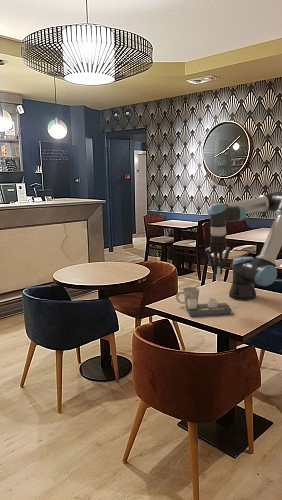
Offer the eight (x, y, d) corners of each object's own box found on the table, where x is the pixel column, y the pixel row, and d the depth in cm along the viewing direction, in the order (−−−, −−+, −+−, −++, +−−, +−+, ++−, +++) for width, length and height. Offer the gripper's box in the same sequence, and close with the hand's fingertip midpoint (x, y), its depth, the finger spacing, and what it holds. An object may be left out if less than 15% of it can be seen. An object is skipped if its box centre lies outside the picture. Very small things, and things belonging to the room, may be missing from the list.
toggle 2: (215, 304, 205) (215, 297, 204) (217, 307, 201) (217, 300, 201) (207, 305, 205) (207, 298, 204) (209, 307, 201) (209, 300, 200)
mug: (198, 309, 208) (198, 291, 206) (175, 308, 210) (174, 290, 209) (199, 304, 216) (199, 287, 214) (176, 303, 218) (176, 286, 217)
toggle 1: (195, 305, 205) (195, 298, 204) (196, 308, 201) (196, 301, 200) (187, 306, 204) (187, 299, 204) (189, 308, 200) (188, 301, 200)
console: (226, 308, 209) (226, 302, 209) (231, 314, 199) (231, 308, 199) (186, 310, 208) (186, 304, 207) (189, 316, 198) (189, 310, 197)
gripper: (228, 233, 200) (228, 278, 205) (203, 234, 200) (203, 279, 204) (233, 235, 193) (232, 281, 198) (206, 236, 192) (207, 283, 197)
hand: (218, 280), depth 201 cm, fingers closed
